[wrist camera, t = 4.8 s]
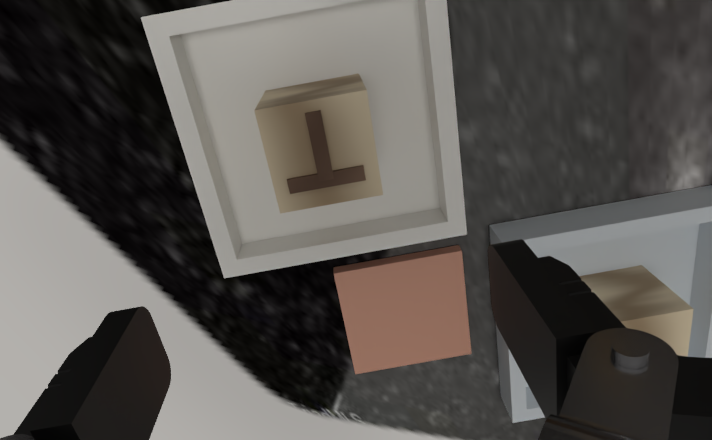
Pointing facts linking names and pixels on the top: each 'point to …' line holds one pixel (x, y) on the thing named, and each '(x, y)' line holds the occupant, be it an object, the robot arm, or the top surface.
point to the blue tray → (621, 262)
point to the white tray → (304, 65)
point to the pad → (405, 309)
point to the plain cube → (644, 304)
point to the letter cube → (319, 143)
